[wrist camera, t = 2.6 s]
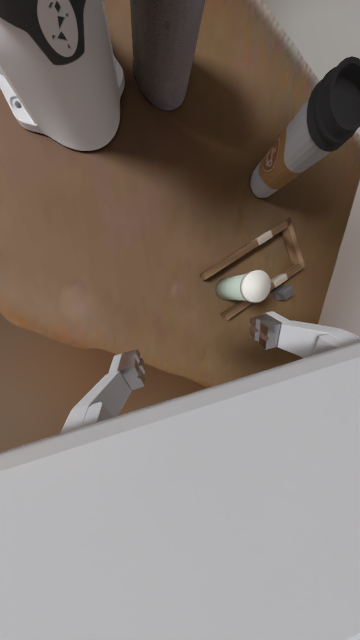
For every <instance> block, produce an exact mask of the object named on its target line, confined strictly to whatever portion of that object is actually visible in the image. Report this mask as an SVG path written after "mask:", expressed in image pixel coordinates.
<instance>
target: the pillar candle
mask: <svg viewBox="0 0 360 640" xmlns="http://www.w3.org/2000/svg"><path fill="white" fill-rule="evenodd" d="M204 3H205V0H130V6H131V25H132V39H133V59H134V60H133V71H134V76H135V79H136V81H137V84H138V86H139V89H140V91H141V92H142V94H143V95H144V97H145V98H146V99H147V100H148V101H149V102H150V103H151V104H153V105H154V106H155V107H157V108H159V109H162V110H166V111H168V110H174V109H176V108H177V107H179V106H180V105H181V104H182V102H183V101H184V99H185V96H186V92H187V88H188V83H189V77H190V73H191V68H192V63H193V58H194V53H195V49H196V43H197V38H198V33H199V28H200V23H201V18H202V13H203V8H204Z"/></svg>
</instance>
